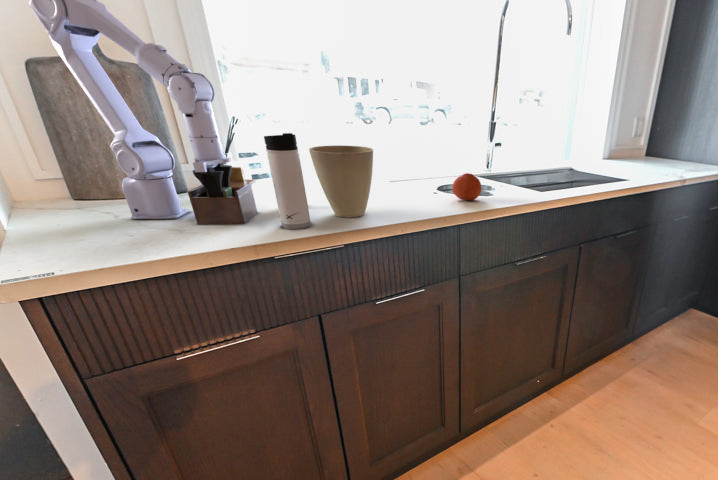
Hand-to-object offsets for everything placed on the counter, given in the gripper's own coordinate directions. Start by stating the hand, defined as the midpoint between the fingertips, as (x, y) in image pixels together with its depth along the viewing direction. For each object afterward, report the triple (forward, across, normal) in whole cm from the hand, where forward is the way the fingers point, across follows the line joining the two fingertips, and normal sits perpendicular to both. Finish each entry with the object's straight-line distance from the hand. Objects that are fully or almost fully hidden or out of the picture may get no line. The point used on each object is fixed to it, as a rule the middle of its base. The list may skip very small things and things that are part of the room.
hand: (221, 200), depth 100 cm
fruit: (+5, +22, -62) cm, 65 cm away
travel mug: (+5, -7, -17) cm, 19 cm away
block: (+1, 0, 0) cm, 1 cm away
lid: (-2, +9, 0) cm, 9 cm away
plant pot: (+5, +4, -28) cm, 29 cm away
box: (+5, +2, 0) cm, 5 cm away
